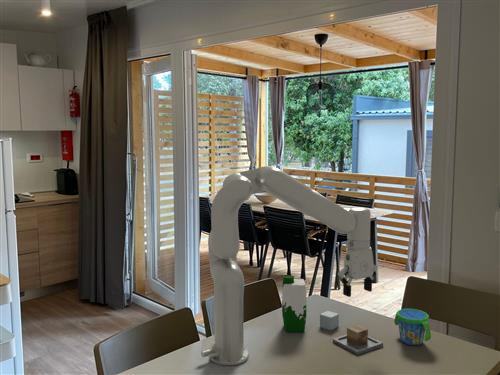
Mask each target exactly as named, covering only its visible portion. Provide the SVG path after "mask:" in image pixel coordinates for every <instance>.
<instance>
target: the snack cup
mask: <svg viewBox="0 0 500 375" xmlns="http://www.w3.org/2000/svg"><path fill="white" fill-rule="evenodd" d="M429 318H430V316H429V314H428V313H427V312H425V311H423V310H420V309H416V308H402V309H398V310H397V311H396V312H395V317H394V322H393V323H394V325H395V326H398V330H399V331H398V332H399V338H400V341H401V342H402V343H404V344H406V345H408V346H421V345H422V344H423V342H428V341H430V340H431V338H432V333H431V327H430V324H429Z"/></svg>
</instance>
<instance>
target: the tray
mask: <svg viewBox="0 0 500 375" xmlns="http://www.w3.org/2000/svg"><path fill="white" fill-rule="evenodd" d="M332 343H334V344H336V345H337V346H340V347H341V348H343V349H345V350H347V351H349V352H351V353H353V354H355V355H357V356H359V355H362V354H365V353H367V352H371V351H374V350H375V349H380V348H382V347H384V342H382V341H380V340H378V339H376V338H373V337H372V336H370V335H368V343H367V344H364V345H361V346H358V347H357V346H355V345H353V344H351V343H349V342H347V334H344V335H340V336H337V337H334V338H332Z"/></svg>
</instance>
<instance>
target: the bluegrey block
mask: <svg viewBox="0 0 500 375" xmlns="http://www.w3.org/2000/svg"><path fill="white" fill-rule="evenodd" d="M339 315H340V314H339V313H337V312H333V311H330V310H325V311H324V312H322V313H320V314H319V328H322V329H325V330H328V331H333V330H334V329H336V328H338V327H339V325H340V324H339V323H340V322H339V318H340V317H339Z"/></svg>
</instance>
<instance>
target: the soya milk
mask: <svg viewBox="0 0 500 375" xmlns="http://www.w3.org/2000/svg"><path fill="white" fill-rule="evenodd" d="M281 289H282V292H281V314H282V321H283V327H284V332H285V333H304V332H305V331H306V330H305V329H306V322H307V287H306V283H305V279H304V278H295V276H294V275H292V274H286V275H283V276H282V288H281Z"/></svg>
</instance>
